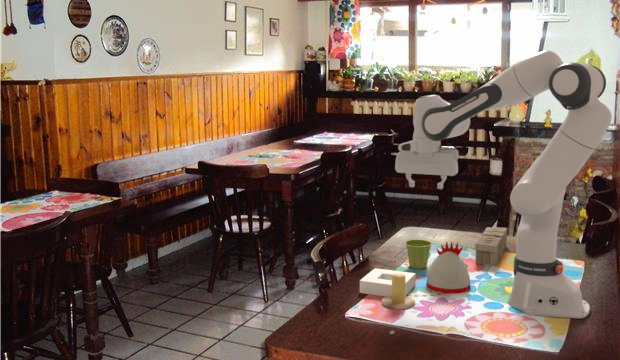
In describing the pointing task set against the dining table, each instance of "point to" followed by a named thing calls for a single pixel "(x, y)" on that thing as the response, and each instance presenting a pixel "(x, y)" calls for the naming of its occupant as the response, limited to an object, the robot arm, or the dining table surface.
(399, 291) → the dowel
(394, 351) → the dining table surface
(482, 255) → the block tower
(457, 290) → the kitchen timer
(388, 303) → the coaster
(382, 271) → the pocket block
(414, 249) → the plant pot
